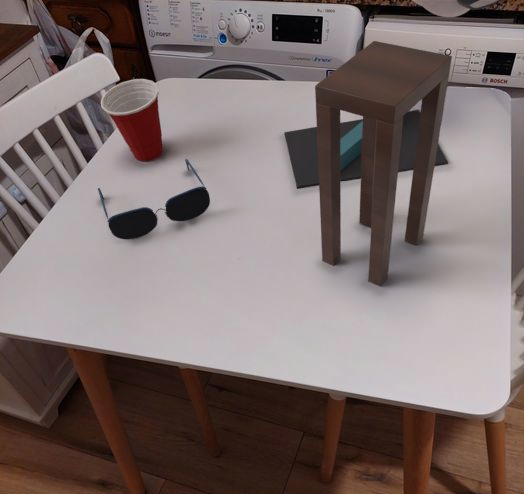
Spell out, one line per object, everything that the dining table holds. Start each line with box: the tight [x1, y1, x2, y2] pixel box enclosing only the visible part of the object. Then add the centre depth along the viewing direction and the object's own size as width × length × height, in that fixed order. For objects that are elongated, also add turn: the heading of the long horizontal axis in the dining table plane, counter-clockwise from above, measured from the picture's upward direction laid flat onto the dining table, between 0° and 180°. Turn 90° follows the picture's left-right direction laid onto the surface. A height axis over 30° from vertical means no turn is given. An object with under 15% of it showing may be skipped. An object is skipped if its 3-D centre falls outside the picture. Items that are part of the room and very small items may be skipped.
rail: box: [340, 121, 363, 171], centre depth 92 cm, size 22×3×3 cm, turn 139°
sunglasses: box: [97, 158, 211, 241], centre depth 89 cm, size 17×15×5 cm
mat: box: [283, 109, 449, 189], centre depth 93 cm, size 26×18×1 cm
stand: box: [314, 40, 453, 287], centre depth 67 cm, size 12×10×26 cm
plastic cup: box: [100, 78, 164, 162], centre depth 96 cm, size 11×11×12 cm
